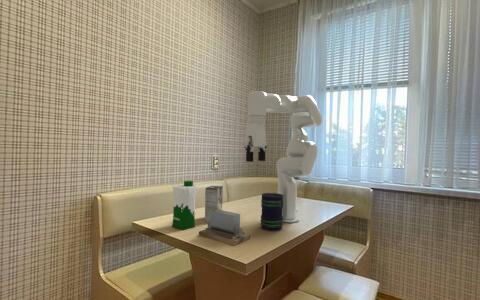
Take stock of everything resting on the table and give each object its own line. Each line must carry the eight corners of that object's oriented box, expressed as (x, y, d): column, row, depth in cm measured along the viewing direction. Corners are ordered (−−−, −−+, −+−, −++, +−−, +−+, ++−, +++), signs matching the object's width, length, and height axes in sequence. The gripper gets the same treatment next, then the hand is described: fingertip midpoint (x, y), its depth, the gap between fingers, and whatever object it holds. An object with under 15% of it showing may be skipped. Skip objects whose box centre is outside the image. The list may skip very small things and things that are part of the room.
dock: (214, 229, 114) (215, 217, 114) (249, 238, 104) (250, 225, 104) (198, 235, 106) (199, 222, 106) (234, 245, 95) (235, 231, 95)
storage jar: (258, 229, 115) (259, 195, 115) (262, 224, 124) (263, 192, 124) (281, 232, 112) (282, 197, 112) (283, 226, 122) (284, 193, 122)
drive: (216, 228, 110) (216, 209, 110) (239, 234, 103) (240, 213, 103) (209, 230, 107) (210, 210, 107) (233, 236, 100) (234, 215, 100)
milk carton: (197, 226, 117) (199, 181, 117) (181, 231, 110) (182, 183, 110) (185, 222, 123) (186, 179, 123) (168, 226, 116) (170, 181, 116)
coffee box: (210, 216, 135) (211, 185, 135) (222, 217, 134) (223, 186, 134) (204, 221, 126) (205, 187, 126) (217, 222, 125) (218, 188, 125)
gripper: (259, 123, 121) (258, 160, 121) (237, 119, 107) (236, 161, 107) (274, 122, 117) (273, 161, 117) (253, 118, 102) (252, 162, 103)
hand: (255, 161), depth 112 cm, fingers open, 9 cm apart
